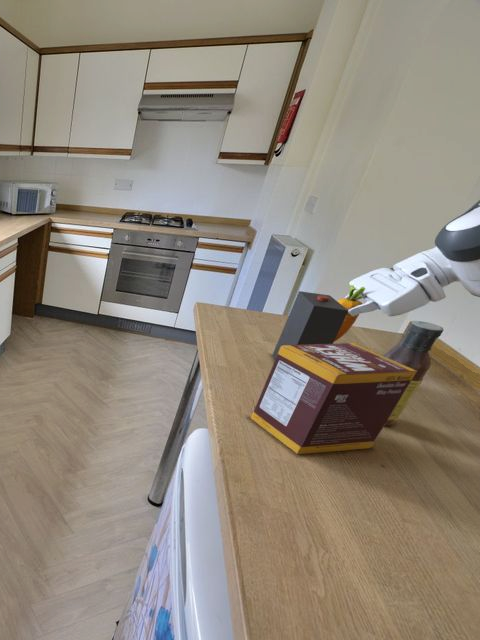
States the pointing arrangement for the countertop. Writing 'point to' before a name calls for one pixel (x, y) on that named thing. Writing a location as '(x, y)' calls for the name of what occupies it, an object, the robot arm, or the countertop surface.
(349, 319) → the carrot
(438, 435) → the countertop surface
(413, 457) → the countertop surface
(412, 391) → the sauce bottle
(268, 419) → the supplement box
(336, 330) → the box with red knob
